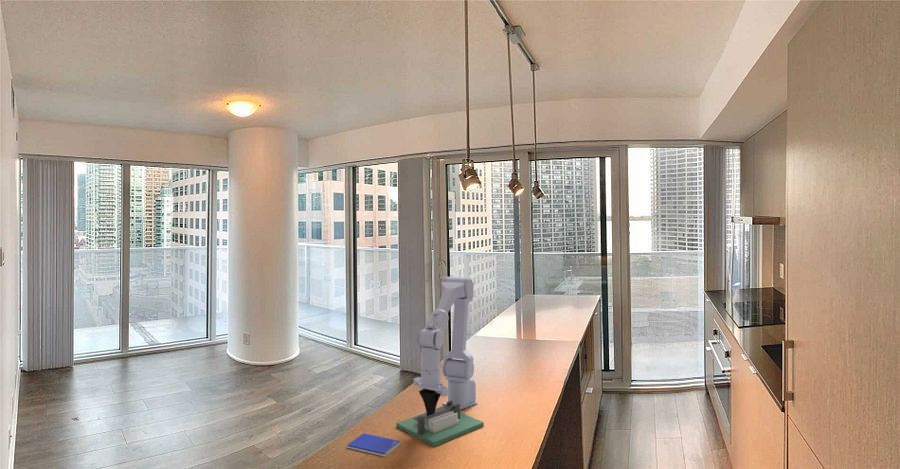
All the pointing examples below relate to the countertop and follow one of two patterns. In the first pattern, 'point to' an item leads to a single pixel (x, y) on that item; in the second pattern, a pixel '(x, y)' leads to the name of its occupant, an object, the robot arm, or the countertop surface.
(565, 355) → the countertop surface
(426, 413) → the long grey plank
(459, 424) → the heatsink board
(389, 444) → the hard drive
